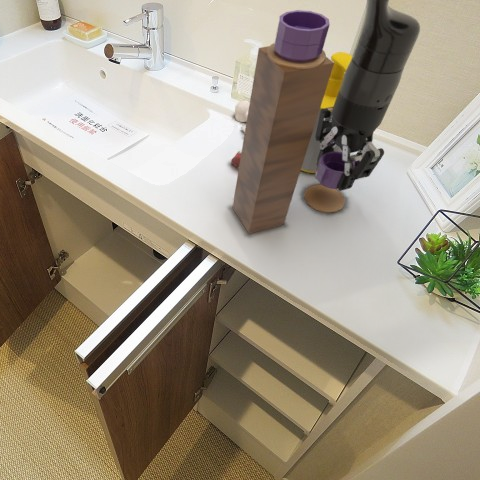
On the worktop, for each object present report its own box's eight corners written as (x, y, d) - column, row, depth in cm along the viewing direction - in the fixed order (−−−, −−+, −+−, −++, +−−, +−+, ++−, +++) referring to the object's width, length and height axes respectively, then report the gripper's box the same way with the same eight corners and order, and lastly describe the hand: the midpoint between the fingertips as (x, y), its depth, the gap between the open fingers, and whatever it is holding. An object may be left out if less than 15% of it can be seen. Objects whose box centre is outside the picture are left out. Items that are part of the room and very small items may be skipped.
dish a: (329, 59, 52) (339, 26, 49) (287, 67, 51) (295, 33, 48) (304, 39, 56) (312, 7, 53) (265, 46, 54) (270, 14, 51)
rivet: (269, 154, 88) (270, 148, 87) (262, 157, 88) (264, 151, 87) (244, 128, 94) (245, 122, 93) (238, 130, 94) (239, 124, 92)
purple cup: (354, 186, 74) (363, 168, 71) (326, 193, 73) (333, 176, 70) (335, 166, 77) (342, 148, 74) (308, 172, 76) (314, 155, 73)
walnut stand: (283, 224, 75) (334, 62, 52) (248, 234, 73) (284, 72, 51) (265, 199, 79) (305, 39, 56) (232, 207, 78) (258, 47, 55)
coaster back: (352, 207, 77) (352, 206, 77) (317, 216, 76) (317, 215, 76) (329, 182, 82) (330, 181, 82) (296, 190, 80) (297, 189, 80)
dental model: (230, 149, 82) (252, 132, 86) (227, 166, 85) (248, 148, 89) (253, 162, 80) (275, 143, 84) (249, 178, 83) (271, 160, 87)
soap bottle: (287, 177, 83) (316, 76, 67) (273, 138, 91) (295, 40, 75) (352, 174, 83) (396, 73, 67) (331, 135, 91) (366, 38, 75)
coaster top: (336, 63, 52) (337, 61, 52) (284, 73, 50) (284, 70, 50) (305, 38, 56) (306, 36, 56) (256, 47, 55) (256, 45, 55)
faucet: (248, 130, 101) (244, 89, 96) (293, 149, 86) (292, 103, 81) (233, 135, 100) (229, 94, 95) (277, 156, 86) (274, 109, 80)
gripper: (317, 72, 66) (293, 157, 78) (375, 121, 57) (337, 208, 69) (358, 65, 67) (327, 149, 80) (420, 111, 58) (375, 198, 71)
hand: (332, 176), depth 75 cm, fingers closed on purple cup, 6 cm apart
